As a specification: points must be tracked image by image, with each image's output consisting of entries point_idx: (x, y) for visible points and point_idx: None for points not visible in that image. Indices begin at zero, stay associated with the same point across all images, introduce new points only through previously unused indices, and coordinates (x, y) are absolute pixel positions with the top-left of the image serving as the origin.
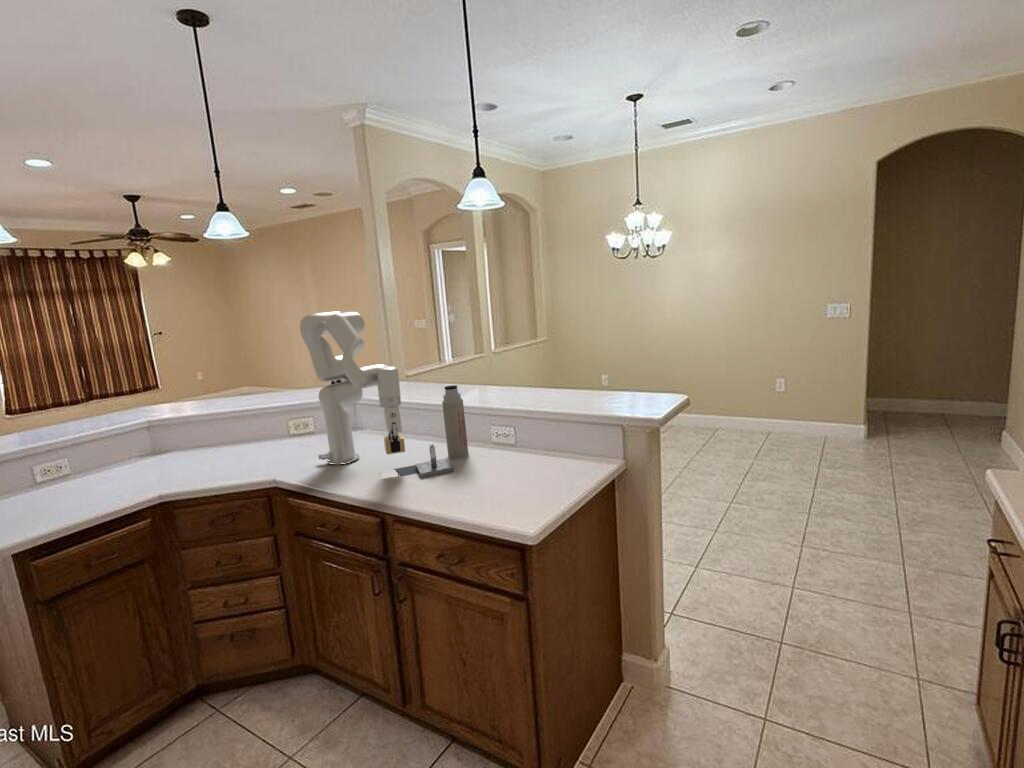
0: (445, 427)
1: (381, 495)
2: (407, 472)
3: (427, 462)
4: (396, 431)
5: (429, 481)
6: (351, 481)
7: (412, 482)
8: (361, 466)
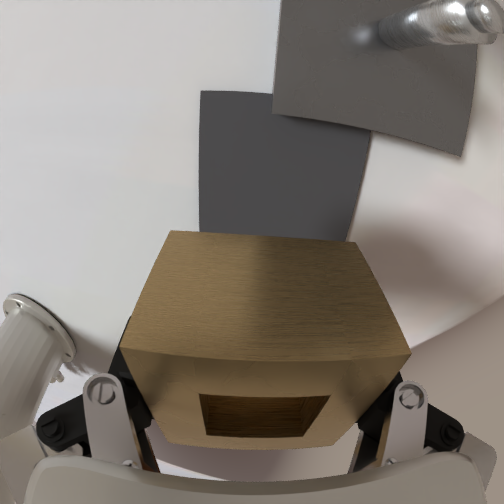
0: None
1: (451, 306)
2: (316, 173)
3: (300, 35)
4: (488, 479)
5: (487, 136)
6: None
7: (449, 195)
8: (94, 311)
